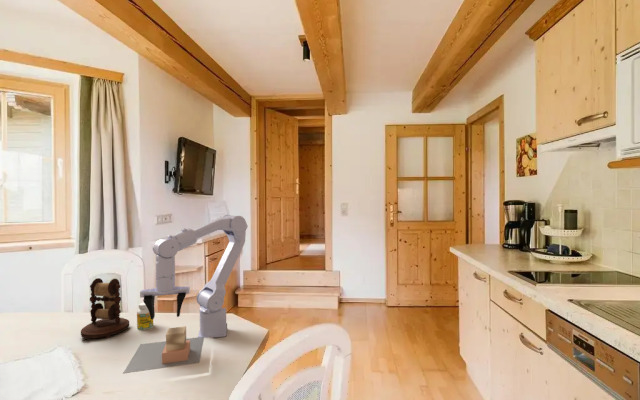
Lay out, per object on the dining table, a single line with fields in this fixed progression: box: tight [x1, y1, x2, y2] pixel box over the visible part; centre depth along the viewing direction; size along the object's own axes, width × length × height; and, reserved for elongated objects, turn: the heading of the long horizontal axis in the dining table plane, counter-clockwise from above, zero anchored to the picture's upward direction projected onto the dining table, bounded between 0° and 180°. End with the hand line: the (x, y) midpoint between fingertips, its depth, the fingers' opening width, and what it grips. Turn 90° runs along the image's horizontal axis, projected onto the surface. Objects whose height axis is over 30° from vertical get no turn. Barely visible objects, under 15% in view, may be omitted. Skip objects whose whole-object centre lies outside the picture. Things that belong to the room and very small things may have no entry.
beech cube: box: [165, 326, 187, 352], centre depth 98 cm, size 5×5×5 cm
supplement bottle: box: [136, 301, 154, 331], centre depth 120 cm, size 5×5×10 cm
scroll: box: [80, 277, 130, 339], centre depth 116 cm, size 15×15×20 cm
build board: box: [122, 336, 205, 374], centre depth 100 cm, size 20×18×4 cm
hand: (165, 316), depth 104 cm, fingers open, 7 cm apart
